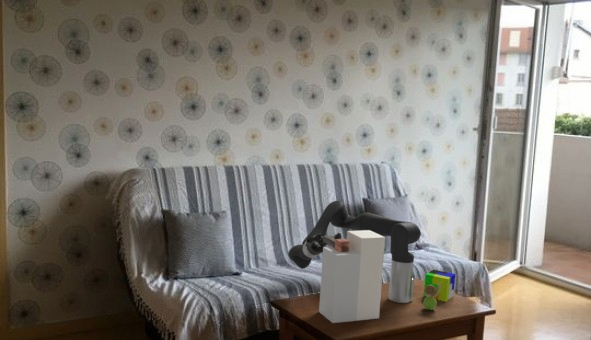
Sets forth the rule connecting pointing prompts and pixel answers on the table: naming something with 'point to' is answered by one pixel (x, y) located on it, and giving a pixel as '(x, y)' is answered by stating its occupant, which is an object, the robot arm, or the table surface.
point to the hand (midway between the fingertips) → (330, 235)
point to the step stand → (353, 278)
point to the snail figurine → (431, 296)
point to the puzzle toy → (446, 284)
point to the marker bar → (337, 243)
